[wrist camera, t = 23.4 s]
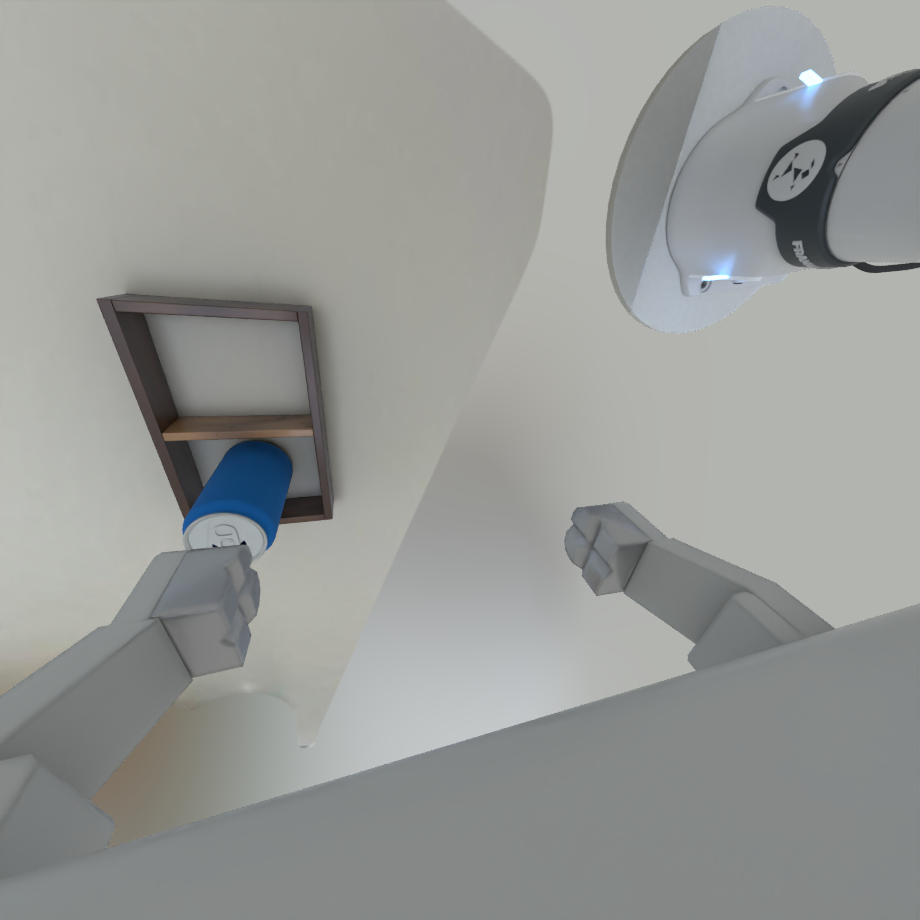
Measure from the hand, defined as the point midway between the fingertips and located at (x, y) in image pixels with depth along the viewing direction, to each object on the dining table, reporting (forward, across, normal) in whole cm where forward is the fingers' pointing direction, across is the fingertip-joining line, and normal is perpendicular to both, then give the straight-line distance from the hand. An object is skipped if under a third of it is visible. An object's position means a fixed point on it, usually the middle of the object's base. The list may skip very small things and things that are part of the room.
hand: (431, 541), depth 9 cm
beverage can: (+29, +12, +14) cm, 35 cm away
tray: (+29, +12, +9) cm, 33 cm away
